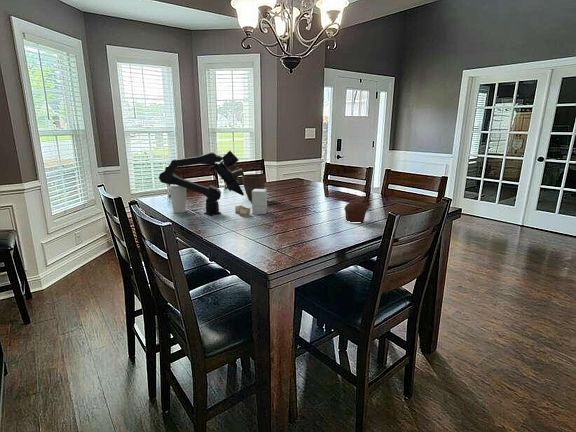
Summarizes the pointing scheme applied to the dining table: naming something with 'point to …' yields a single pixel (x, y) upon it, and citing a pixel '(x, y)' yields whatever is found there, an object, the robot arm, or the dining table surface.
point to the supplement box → (259, 201)
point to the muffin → (355, 211)
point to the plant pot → (253, 183)
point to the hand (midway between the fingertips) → (243, 194)
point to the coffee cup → (178, 198)
